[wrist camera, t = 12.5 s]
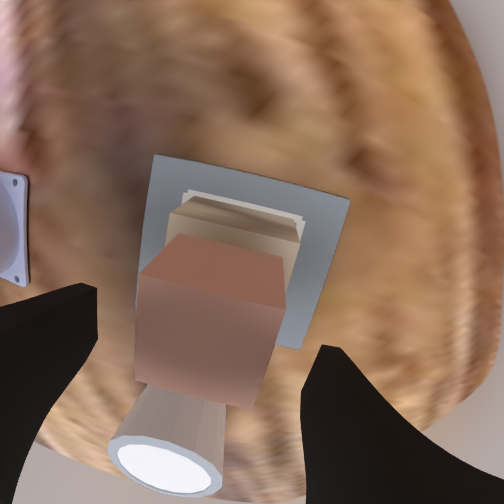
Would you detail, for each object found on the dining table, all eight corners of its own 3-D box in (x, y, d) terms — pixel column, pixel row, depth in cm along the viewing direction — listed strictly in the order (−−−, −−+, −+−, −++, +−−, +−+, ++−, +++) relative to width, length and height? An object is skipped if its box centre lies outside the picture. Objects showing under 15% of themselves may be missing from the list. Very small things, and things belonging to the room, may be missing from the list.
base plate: (139, 304, 18) (135, 309, 18) (158, 154, 15) (154, 154, 15) (299, 344, 19) (299, 350, 18) (347, 198, 16) (350, 200, 15)
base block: (179, 285, 17) (155, 322, 13) (194, 195, 15) (169, 213, 12) (268, 306, 17) (266, 350, 13) (293, 219, 15) (300, 243, 12)
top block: (167, 320, 13) (134, 379, 9) (179, 232, 12) (138, 273, 8) (258, 342, 13) (252, 410, 9) (282, 257, 12) (286, 309, 8)
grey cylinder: (172, 340, 19) (133, 419, 12) (256, 395, 20) (248, 479, 14) (128, 390, 21) (92, 458, 14) (201, 435, 22) (184, 506, 15)
